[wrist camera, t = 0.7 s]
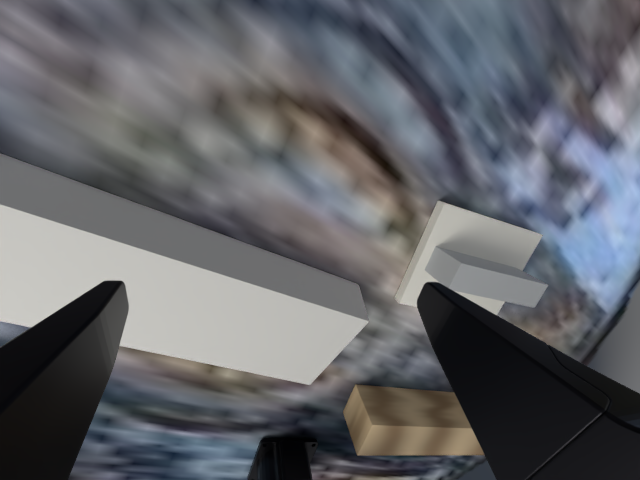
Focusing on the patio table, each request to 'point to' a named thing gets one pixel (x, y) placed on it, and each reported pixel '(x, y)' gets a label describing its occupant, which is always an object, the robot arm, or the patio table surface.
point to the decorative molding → (168, 279)
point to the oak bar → (408, 422)
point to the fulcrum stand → (473, 260)
